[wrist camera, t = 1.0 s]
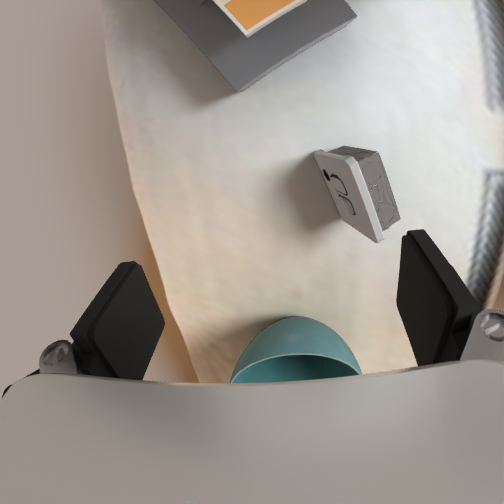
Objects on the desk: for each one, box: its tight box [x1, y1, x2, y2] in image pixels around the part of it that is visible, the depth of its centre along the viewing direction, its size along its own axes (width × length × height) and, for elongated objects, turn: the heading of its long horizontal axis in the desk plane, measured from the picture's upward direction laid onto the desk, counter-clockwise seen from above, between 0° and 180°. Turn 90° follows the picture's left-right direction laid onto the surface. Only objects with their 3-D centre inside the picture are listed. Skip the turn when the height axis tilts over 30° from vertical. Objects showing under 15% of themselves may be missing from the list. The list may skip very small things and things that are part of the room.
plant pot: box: [230, 317, 362, 383], centre depth 43 cm, size 18×18×12 cm
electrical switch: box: [314, 146, 400, 243], centre depth 32 cm, size 9×5×9 cm, turn 28°
